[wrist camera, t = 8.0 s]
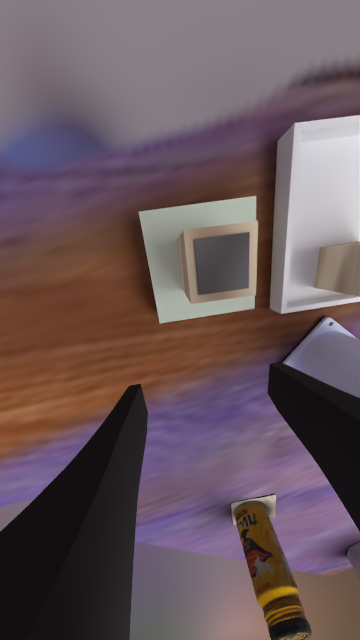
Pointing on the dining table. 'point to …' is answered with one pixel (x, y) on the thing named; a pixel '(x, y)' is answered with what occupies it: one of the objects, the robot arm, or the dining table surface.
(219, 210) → the sage stand
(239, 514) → the condiment
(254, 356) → the dining table surface
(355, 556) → the pillar candle
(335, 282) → the plain block
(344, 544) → the dining table surface
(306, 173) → the parts tray
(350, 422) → the robot arm
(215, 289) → the labelled block
